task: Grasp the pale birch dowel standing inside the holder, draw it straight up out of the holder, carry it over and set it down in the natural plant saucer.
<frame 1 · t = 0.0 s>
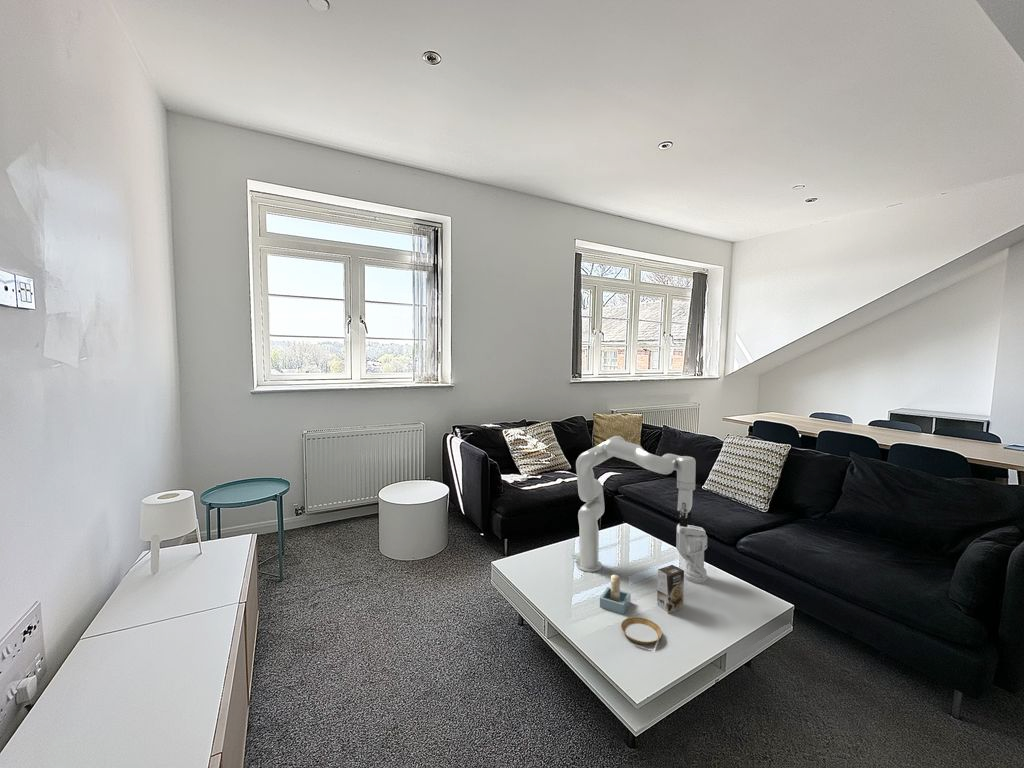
hand: (685, 522, 184), 31 cm above the table, fingers open, 9 cm apart
holder: (615, 606, 175), on the table
dowel: (615, 604, 175), point 1 cm above the table, touching holder
coffee box: (670, 607, 174), on the table
plant saucer: (641, 635, 157), on the table
white sculpture: (691, 578, 197), on the table
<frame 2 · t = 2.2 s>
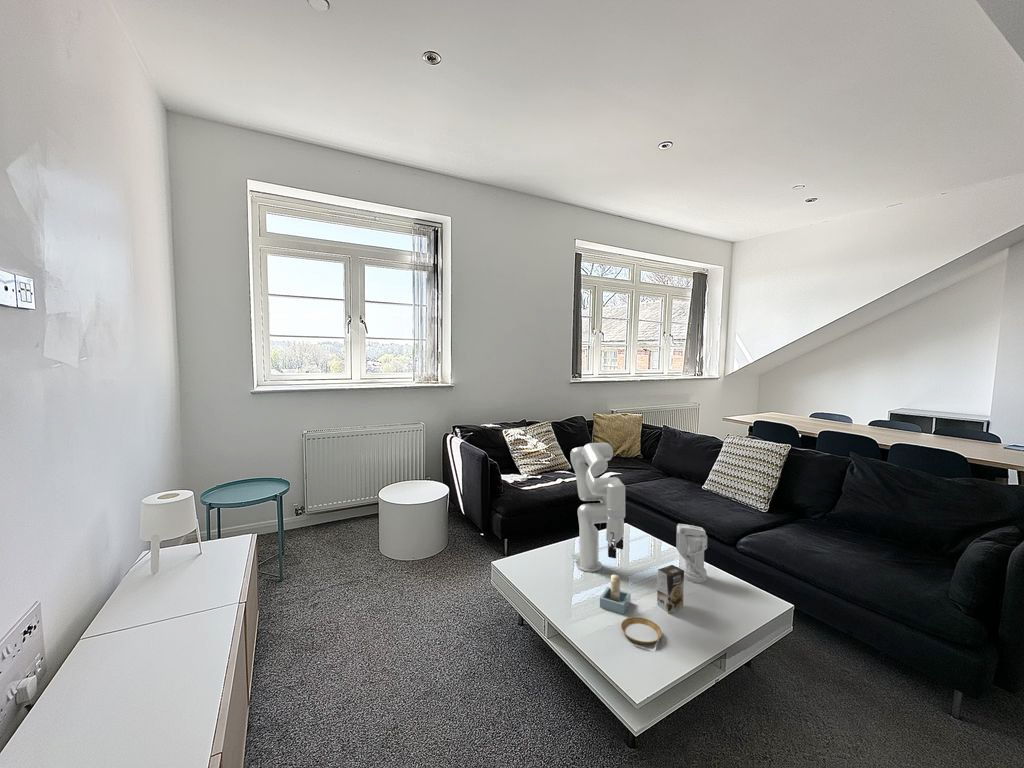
hand: (615, 552, 174), 23 cm above the table, fingers open, 9 cm apart
nothing on the table moved.
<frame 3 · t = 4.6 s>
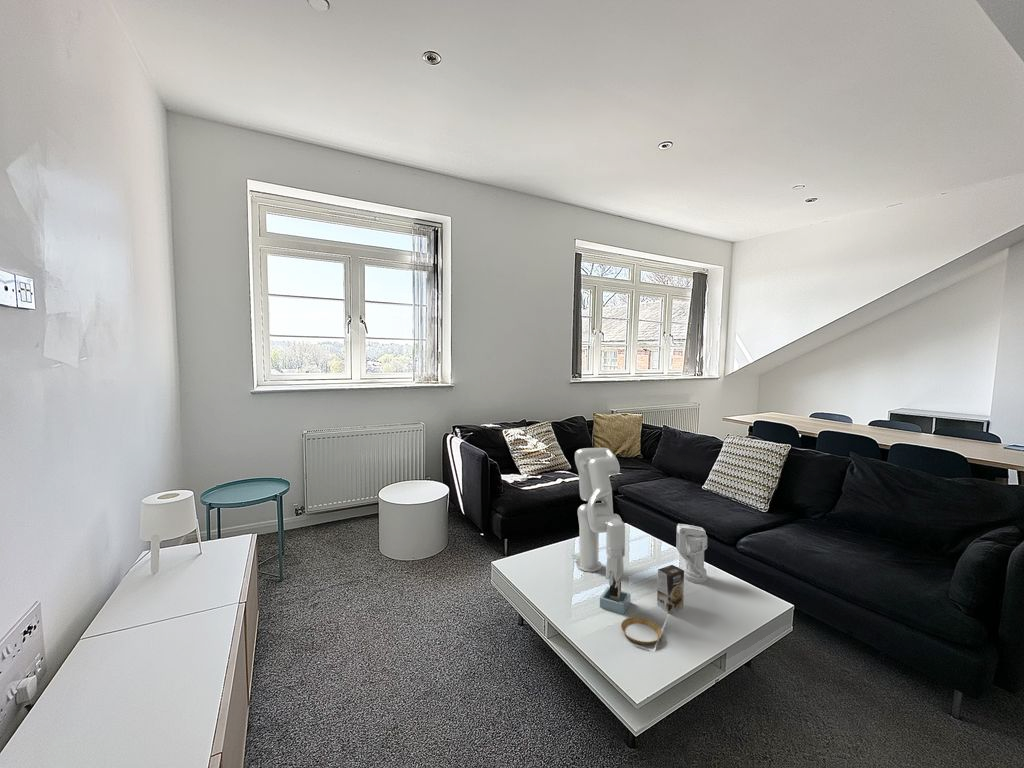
hand: (615, 592, 175), 6 cm above the table, fingers closed on dowel, 3 cm apart
dowel: (615, 604, 175), point 1 cm above the table, touching gripper, holder
everything else where it was.
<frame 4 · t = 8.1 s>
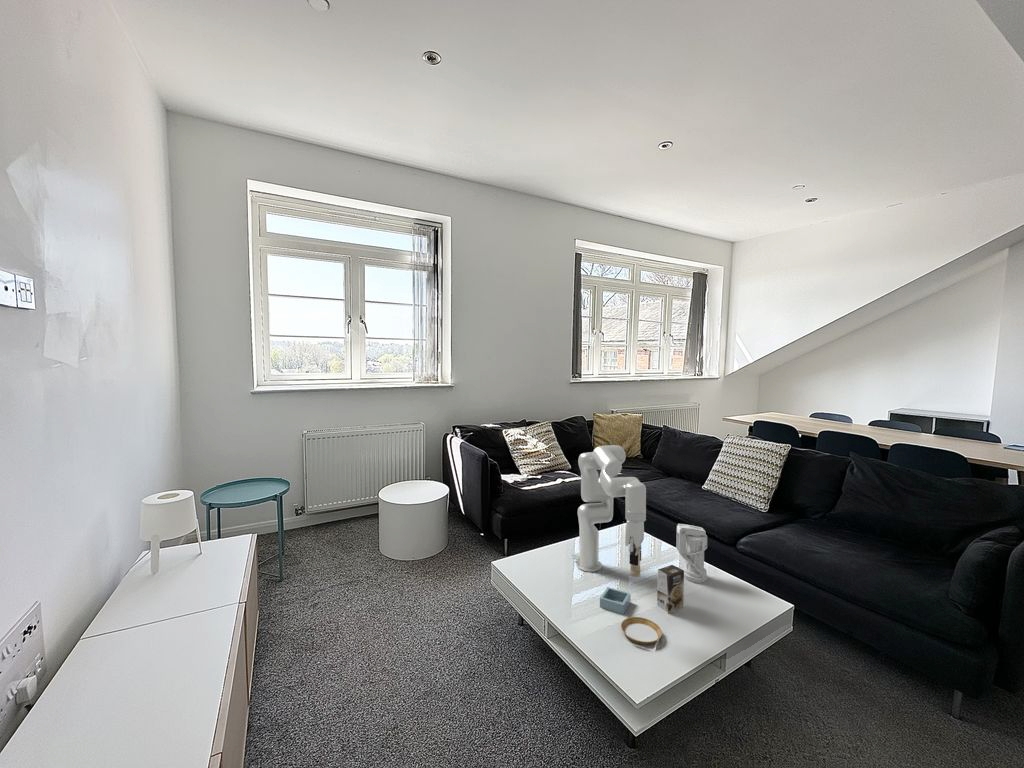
hand: (635, 561, 159), 26 cm above the table, fingers closed on dowel, 3 cm apart
dowel: (635, 574, 160), point 21 cm above the table, touching gripper
everything else where it was.
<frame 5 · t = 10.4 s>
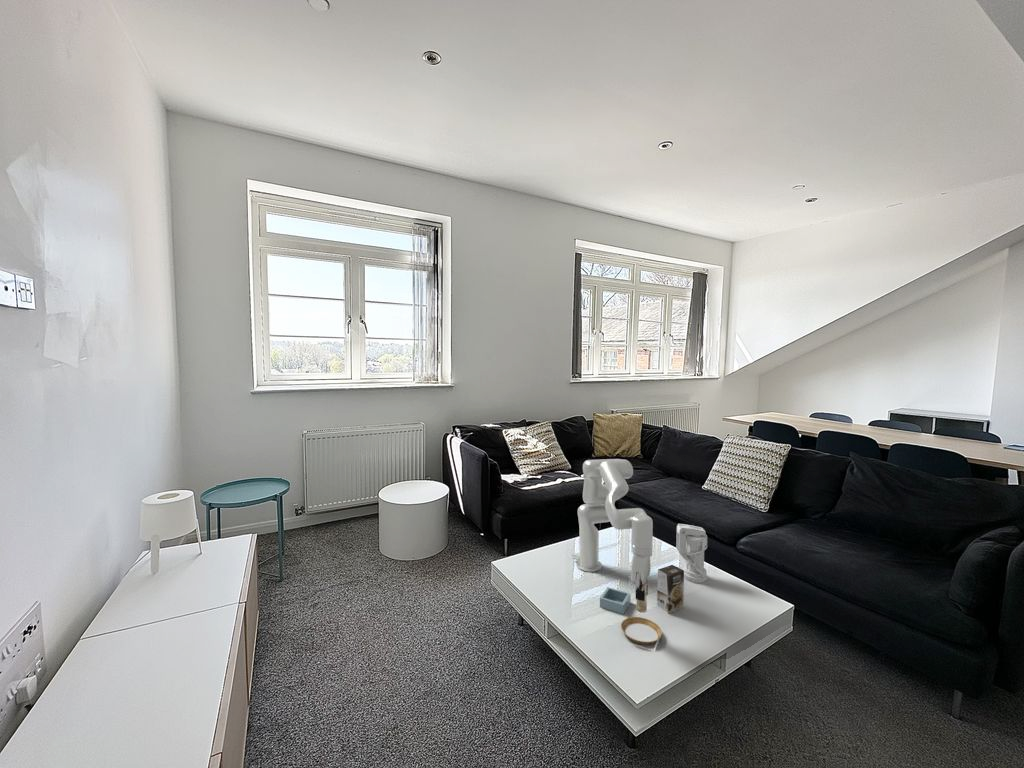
hand: (641, 596, 156), 15 cm above the table, fingers closed on dowel, 3 cm apart
dowel: (641, 609, 156), point 10 cm above the table, touching gripper
everything else where it was.
when the fingers open (9 cm above the table, at t = 11.9 s): dowel drops 1 cm, resting on plant saucer.
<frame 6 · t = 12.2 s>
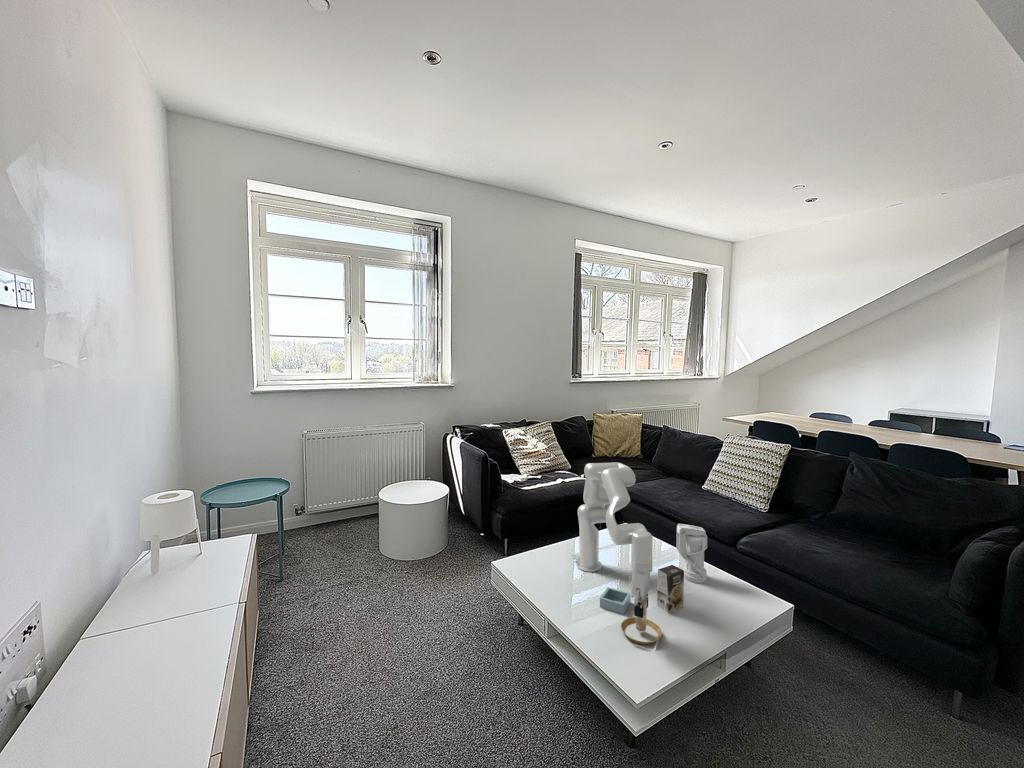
hand: (641, 611, 156), 9 cm above the table, fingers open, 6 cm apart
dowel: (641, 628, 157), point 2 cm above the table, touching plant saucer
plant saucer: (641, 636, 157), on the table, touching dowel
everything else where it was.
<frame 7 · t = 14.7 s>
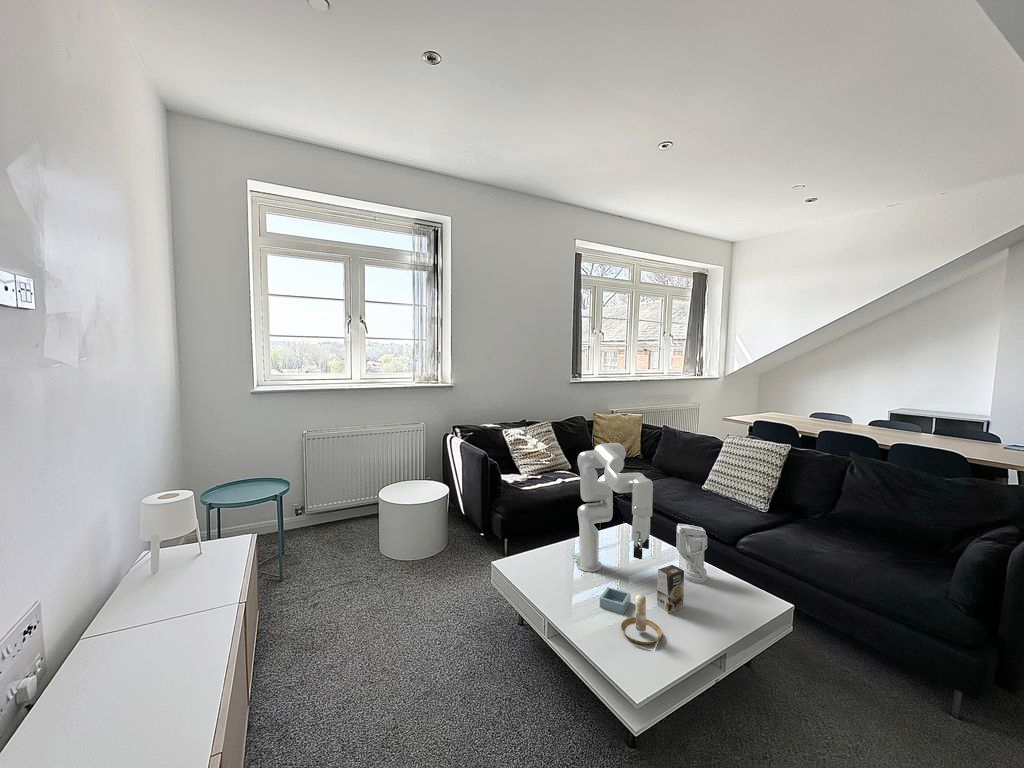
hand: (641, 553, 163), 28 cm above the table, fingers open, 9 cm apart
nothing on the table moved.
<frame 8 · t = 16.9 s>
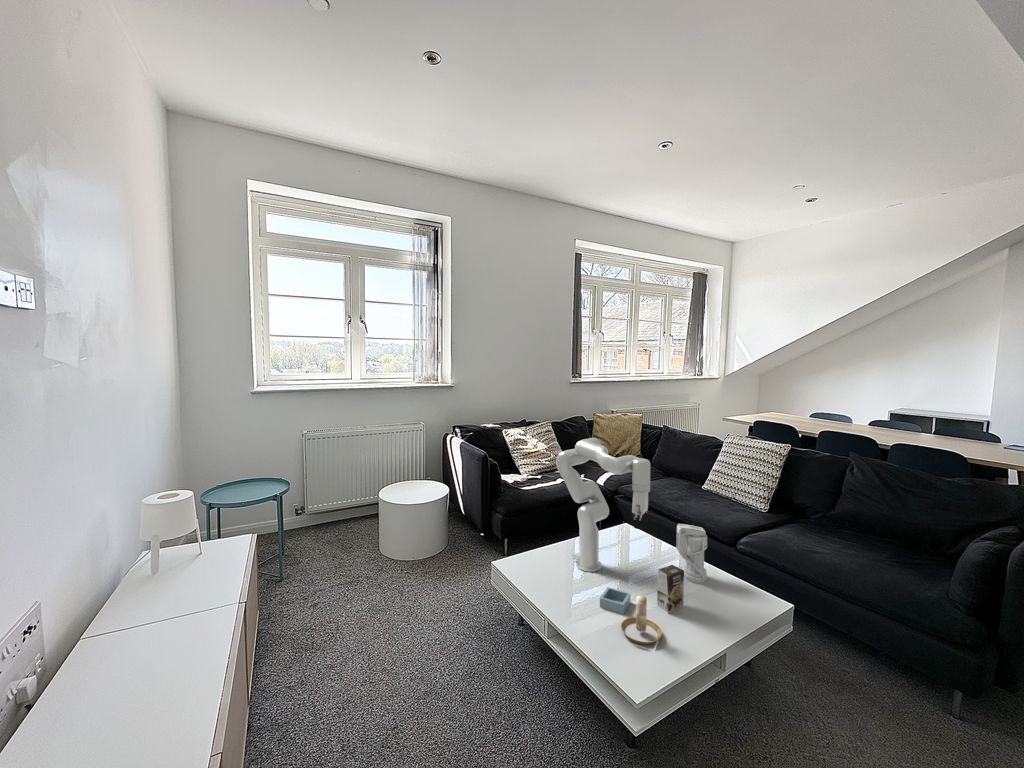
hand: (640, 524, 185), 30 cm above the table, fingers open, 9 cm apart
nothing on the table moved.
at the end: dowel 0.1 cm from the plant saucer (horizontally); dowel point 2.3 cm above the table; the gripper is holding nothing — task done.
